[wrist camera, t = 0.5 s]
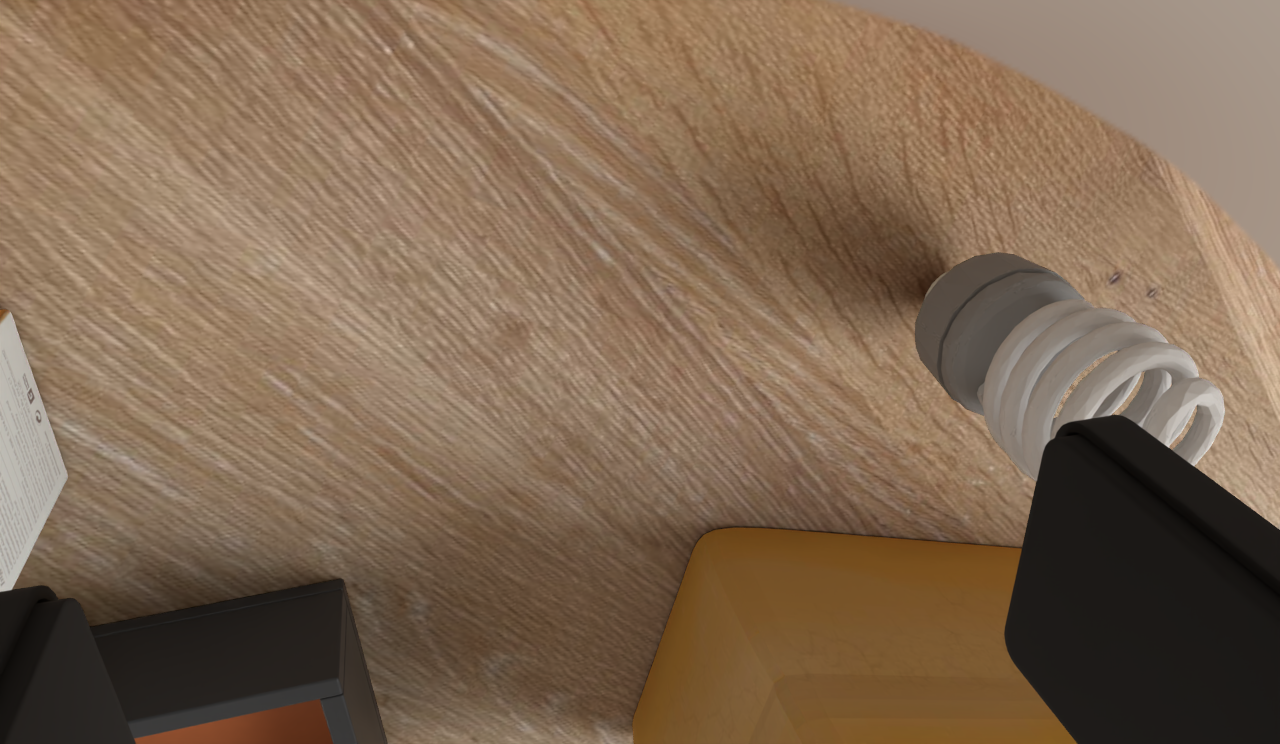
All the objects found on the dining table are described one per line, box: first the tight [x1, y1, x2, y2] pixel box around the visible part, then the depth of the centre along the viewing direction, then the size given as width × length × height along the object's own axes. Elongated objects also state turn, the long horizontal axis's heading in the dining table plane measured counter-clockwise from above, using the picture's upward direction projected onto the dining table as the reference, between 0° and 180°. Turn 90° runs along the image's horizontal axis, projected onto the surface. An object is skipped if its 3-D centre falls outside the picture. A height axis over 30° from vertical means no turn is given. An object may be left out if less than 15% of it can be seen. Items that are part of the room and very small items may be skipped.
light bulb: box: [915, 252, 1225, 481], centre depth 31 cm, size 6×6×12 cm
